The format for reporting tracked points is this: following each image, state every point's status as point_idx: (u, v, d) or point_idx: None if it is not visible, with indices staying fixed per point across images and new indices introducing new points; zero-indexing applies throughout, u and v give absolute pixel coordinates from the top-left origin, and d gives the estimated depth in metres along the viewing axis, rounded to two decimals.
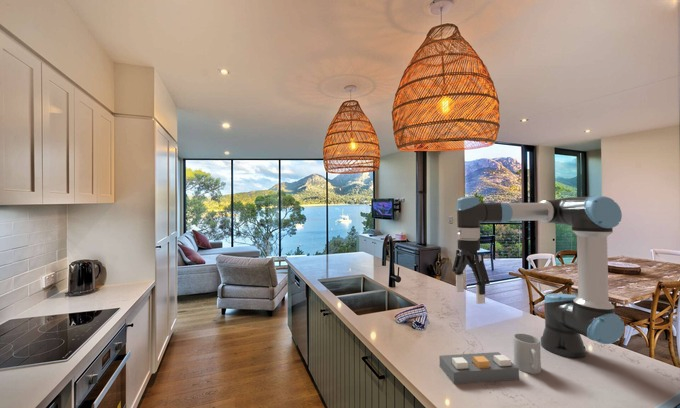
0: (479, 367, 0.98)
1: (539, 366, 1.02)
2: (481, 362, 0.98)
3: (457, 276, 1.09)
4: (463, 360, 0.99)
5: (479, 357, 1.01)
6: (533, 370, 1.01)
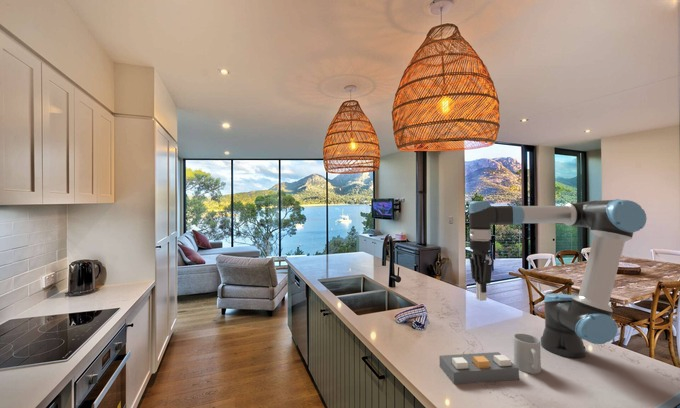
0: (479, 367, 0.98)
1: (539, 366, 1.02)
2: (481, 362, 0.98)
3: (477, 284, 1.11)
4: (463, 360, 0.99)
5: (479, 357, 1.01)
6: (533, 370, 1.01)
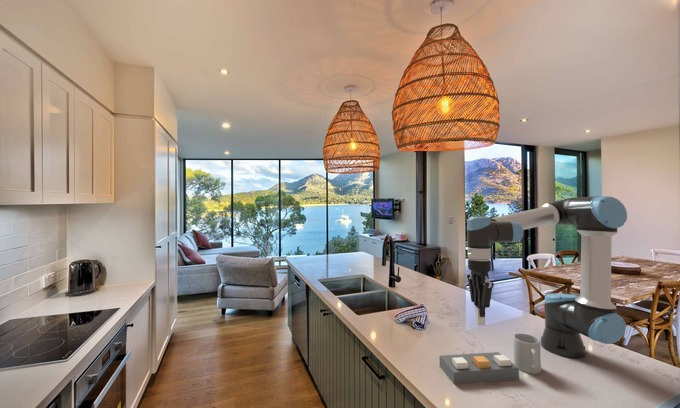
0: (479, 367, 0.98)
1: (539, 366, 1.02)
2: (481, 362, 0.98)
3: None
4: (463, 360, 0.99)
5: (479, 357, 1.01)
6: (533, 370, 1.01)
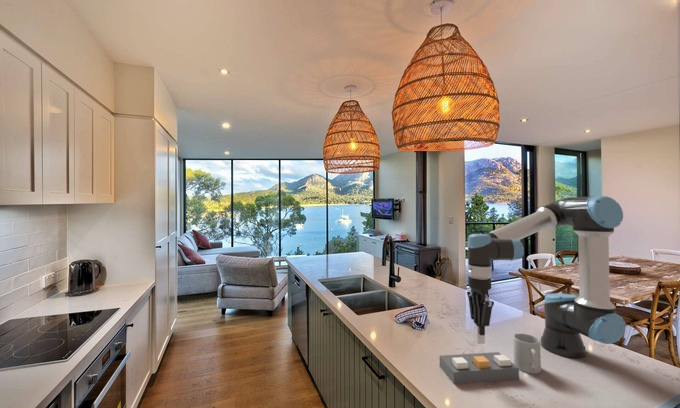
0: (479, 367, 0.98)
1: (539, 366, 1.02)
2: (481, 362, 0.98)
3: None
4: (463, 360, 0.99)
5: (479, 357, 1.01)
6: (533, 370, 1.01)
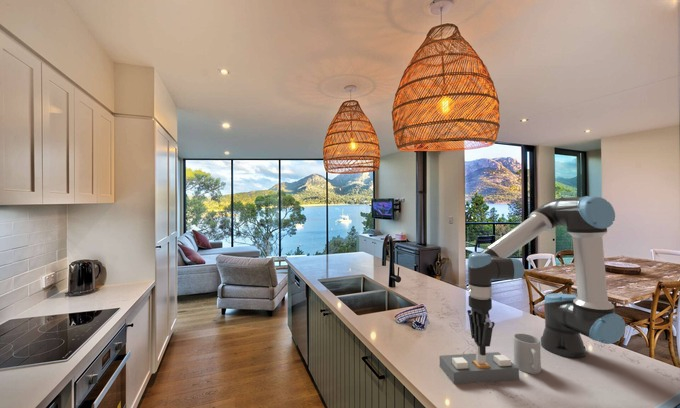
0: None
1: (539, 366, 1.02)
2: (481, 366, 0.98)
3: None
4: (463, 360, 0.99)
5: None
6: (533, 370, 1.01)
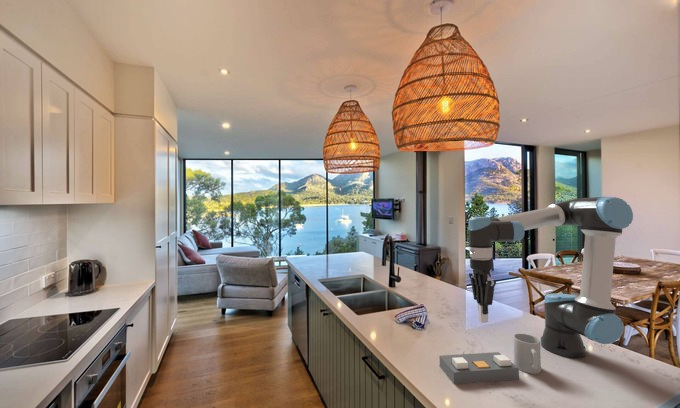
0: None
1: (539, 366, 1.02)
2: (481, 367, 0.98)
3: None
4: (463, 360, 0.99)
5: (479, 362, 1.01)
6: (533, 370, 1.01)
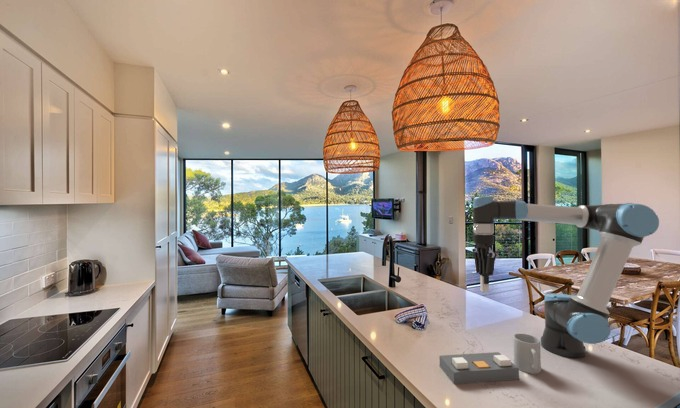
0: None
1: (539, 366, 1.02)
2: (481, 367, 0.98)
3: None
4: (463, 360, 0.99)
5: (479, 362, 1.01)
6: (533, 370, 1.01)
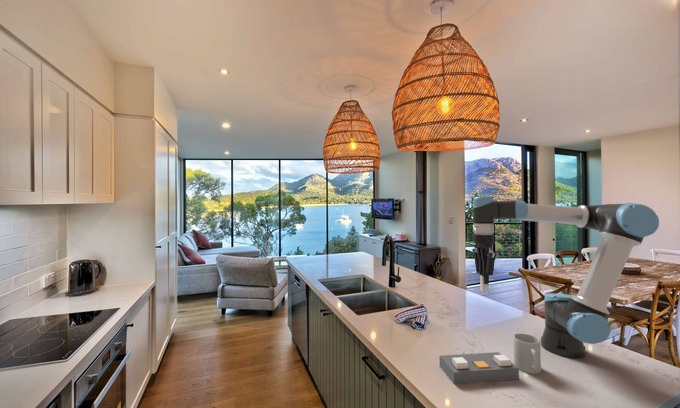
0: None
1: (539, 366, 1.02)
2: (481, 367, 0.98)
3: None
4: (463, 360, 0.99)
5: (479, 362, 1.01)
6: (533, 370, 1.01)
